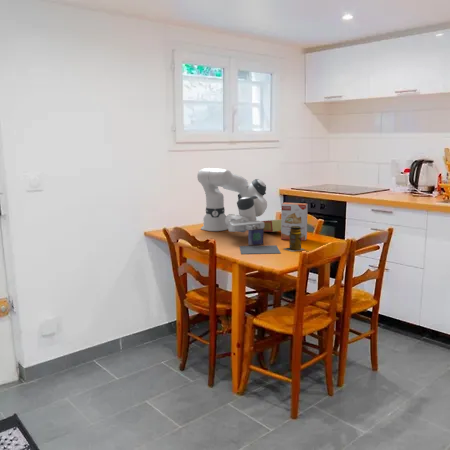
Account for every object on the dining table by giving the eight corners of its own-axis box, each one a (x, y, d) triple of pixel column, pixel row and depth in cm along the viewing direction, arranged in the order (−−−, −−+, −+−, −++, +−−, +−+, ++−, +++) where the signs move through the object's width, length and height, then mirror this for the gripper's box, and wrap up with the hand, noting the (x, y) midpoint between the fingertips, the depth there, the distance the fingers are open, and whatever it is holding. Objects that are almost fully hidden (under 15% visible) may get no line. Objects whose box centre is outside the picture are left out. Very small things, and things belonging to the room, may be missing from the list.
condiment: (304, 249, 247) (305, 227, 244) (292, 251, 242) (292, 228, 240) (295, 247, 253) (295, 224, 250) (283, 249, 248) (283, 226, 246)
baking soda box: (260, 231, 294) (272, 231, 280) (259, 221, 294) (271, 220, 280) (273, 230, 298) (286, 230, 283) (272, 219, 298) (285, 219, 283)
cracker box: (280, 239, 271) (281, 203, 267) (283, 237, 276) (283, 202, 272) (305, 241, 266) (305, 204, 262) (307, 239, 271) (307, 203, 268)
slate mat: (239, 246, 255) (239, 245, 255) (276, 245, 256) (276, 245, 256) (241, 254, 239) (241, 253, 238) (280, 253, 239) (280, 252, 239)
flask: (249, 246, 255) (249, 226, 253) (247, 245, 257) (246, 225, 256) (264, 244, 259) (264, 225, 257) (261, 243, 261) (261, 224, 260)
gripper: (257, 227, 276) (270, 232, 264) (226, 231, 267) (237, 235, 255) (257, 217, 275) (270, 220, 262) (225, 220, 266) (237, 224, 254)
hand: (253, 228), depth 259 cm, fingers closed
